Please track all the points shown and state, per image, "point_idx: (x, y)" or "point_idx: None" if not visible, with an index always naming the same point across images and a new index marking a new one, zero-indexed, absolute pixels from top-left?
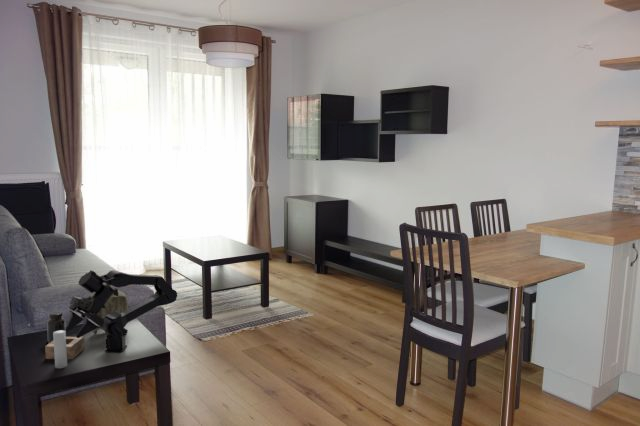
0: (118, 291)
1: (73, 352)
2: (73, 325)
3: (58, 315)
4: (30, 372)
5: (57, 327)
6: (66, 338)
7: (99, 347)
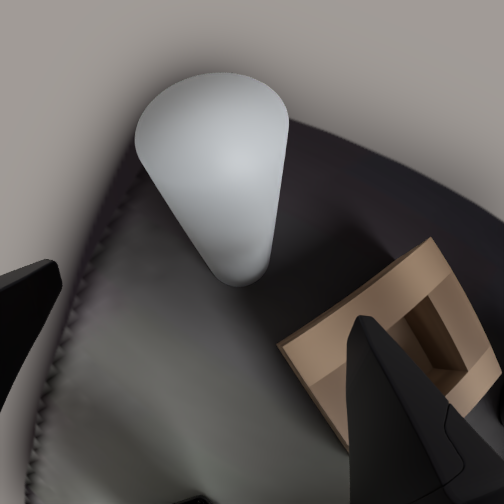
0: None
1: (292, 366)
2: (360, 442)
3: None
4: (294, 141)
5: None
6: (449, 398)
7: None
